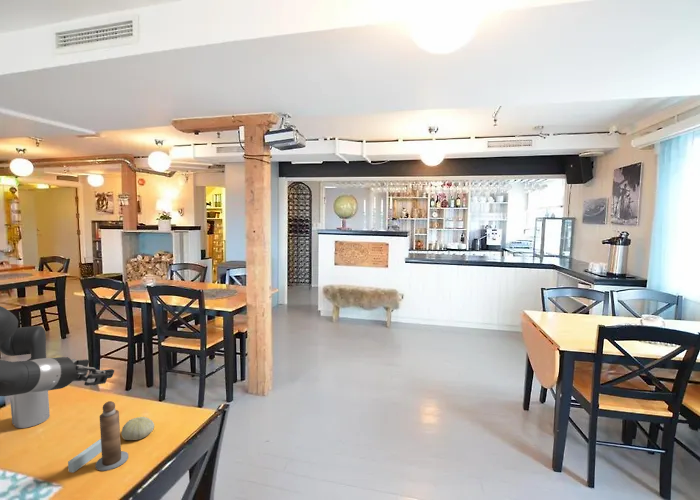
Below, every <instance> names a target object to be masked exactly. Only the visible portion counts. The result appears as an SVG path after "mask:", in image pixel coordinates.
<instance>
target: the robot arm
mask: <svg viewBox="0 0 700 500" xmlns="http://www.w3.org/2000/svg"><path fill="white" fill-rule="evenodd" d="M46 346H47V335H46V329H45V328H44V327H43V326H41V325H35V326H34V325H32V326H23V327H21V326H20V327H19V320H18V318H17V316H16V315H15V314H14V313H12V312H11V311H10V310H9V309H7V308H5V307H4V306H0V352H1V353H2V354H3V355H5V356H8V357H15V356H17V357H18V356H23V355H24V356H25V355H26V356H27V355H30V358H29V359H27V360H23V361H22V360H21V361H19V360H18V361H16V360H15V361H9V360H5V359H0V397H8V396H10V399H9V400H10V413H11V414H10V415H11V424H12V425H13V427H14V428H16V429H26V428H31V427H34V426H38V425H40V424H41V423H44V422H46V421H47V420H49V418H50V416H51V415H50V401H49V391H56V390H62V389H65V388H67V386H69V385H71V383H74V382H76V383H78V382H82V383H83V382H84V383H83V384H84V386H87V387H89V386H96V385H102V384H106V382H107V380H108V379H111V378H113V376H114V374H115V369H112V368H110V369H96V367H92V366H89V364H90V359H78V360H77V359H75V358H74V359H73V358H72V359H71V358H70V357H68V356H67V357H65V356H62V357H47V347H46ZM89 371H90V373H89V374H88V372H89Z"/></svg>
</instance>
